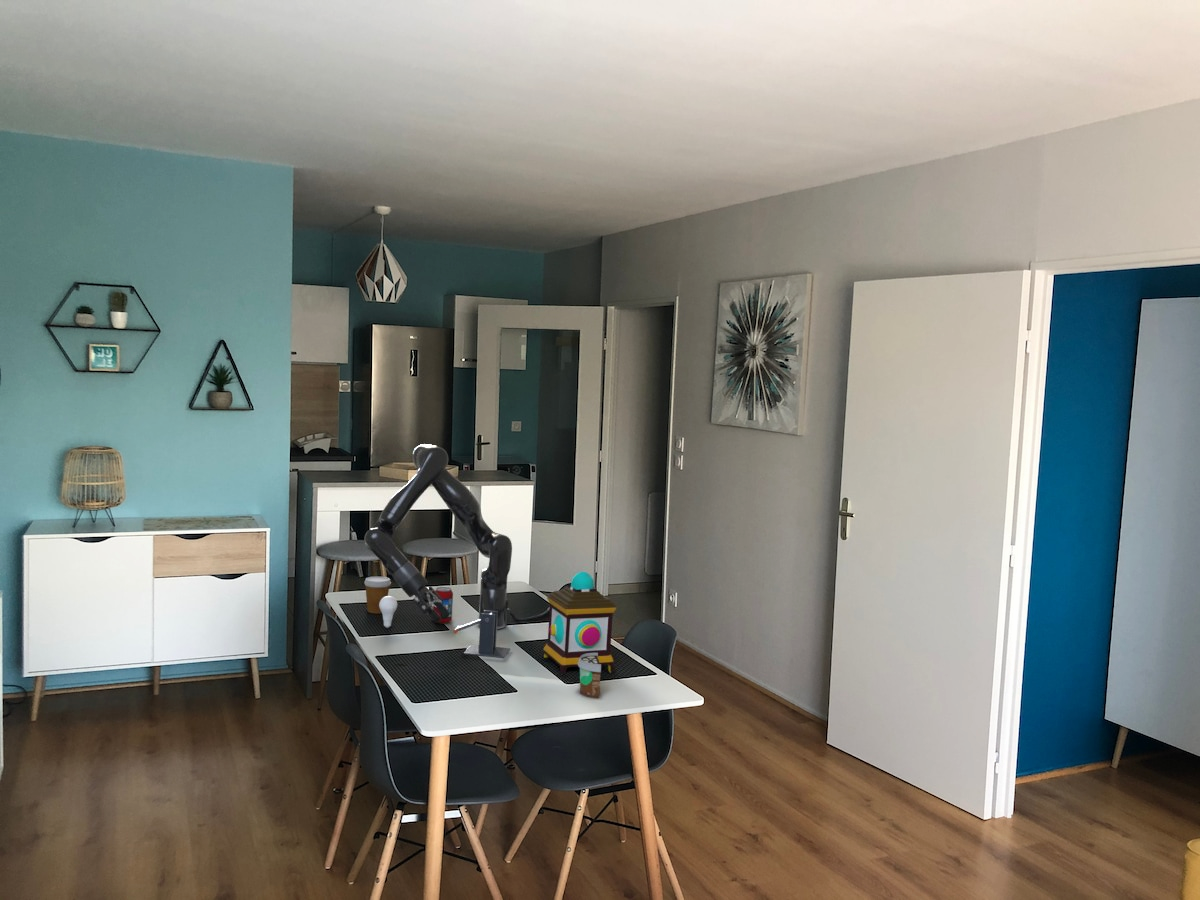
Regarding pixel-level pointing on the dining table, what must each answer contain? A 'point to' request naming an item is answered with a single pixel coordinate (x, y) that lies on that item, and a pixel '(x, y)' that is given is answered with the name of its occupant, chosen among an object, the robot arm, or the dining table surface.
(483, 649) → the bracket
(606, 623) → the decorative lantern
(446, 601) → the beverage can
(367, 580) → the disposable coffee cup
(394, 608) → the lightbulb
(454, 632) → the lever
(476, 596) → the dining table surface
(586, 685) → the food container
